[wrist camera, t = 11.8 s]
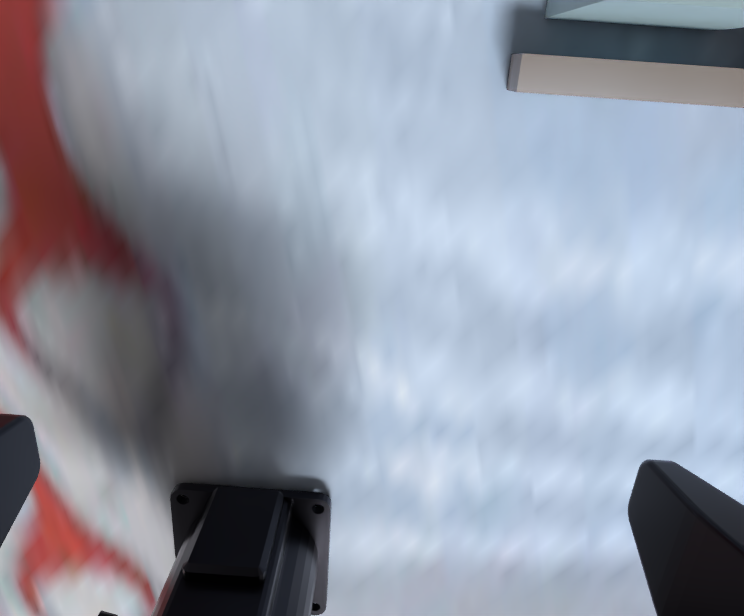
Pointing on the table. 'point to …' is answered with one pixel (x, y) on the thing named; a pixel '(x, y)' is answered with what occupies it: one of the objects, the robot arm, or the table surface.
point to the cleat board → (626, 80)
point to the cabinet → (652, 12)
